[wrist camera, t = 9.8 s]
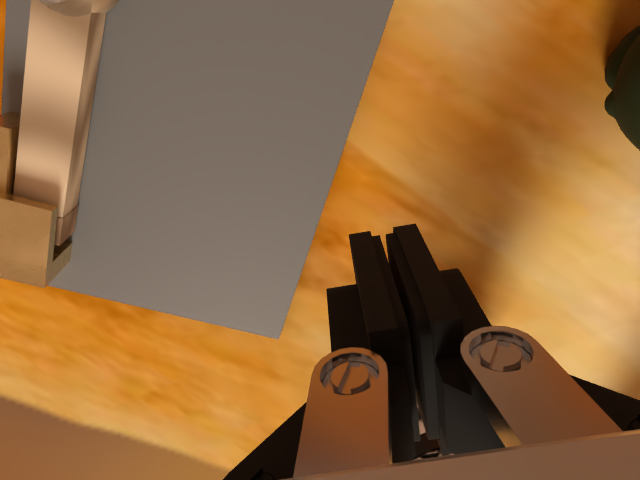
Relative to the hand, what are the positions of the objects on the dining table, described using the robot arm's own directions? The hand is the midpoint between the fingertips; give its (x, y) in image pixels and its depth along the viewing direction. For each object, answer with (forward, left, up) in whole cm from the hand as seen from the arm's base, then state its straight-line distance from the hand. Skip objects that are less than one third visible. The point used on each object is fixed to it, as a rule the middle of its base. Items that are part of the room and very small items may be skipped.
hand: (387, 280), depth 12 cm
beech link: (+3, -16, -20) cm, 26 cm away
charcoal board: (+5, -9, -22) cm, 24 cm away
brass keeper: (+10, -17, -21) cm, 29 cm away
